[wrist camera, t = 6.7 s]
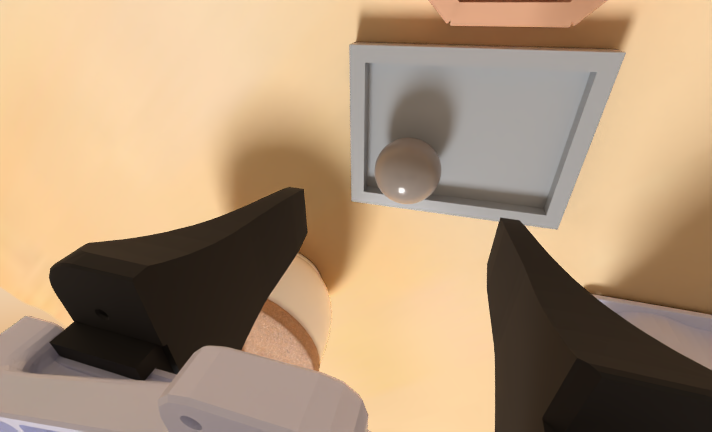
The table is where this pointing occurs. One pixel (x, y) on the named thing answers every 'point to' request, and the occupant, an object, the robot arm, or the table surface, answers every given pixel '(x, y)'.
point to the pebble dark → (407, 170)
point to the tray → (481, 122)
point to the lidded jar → (294, 318)
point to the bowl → (515, 12)
